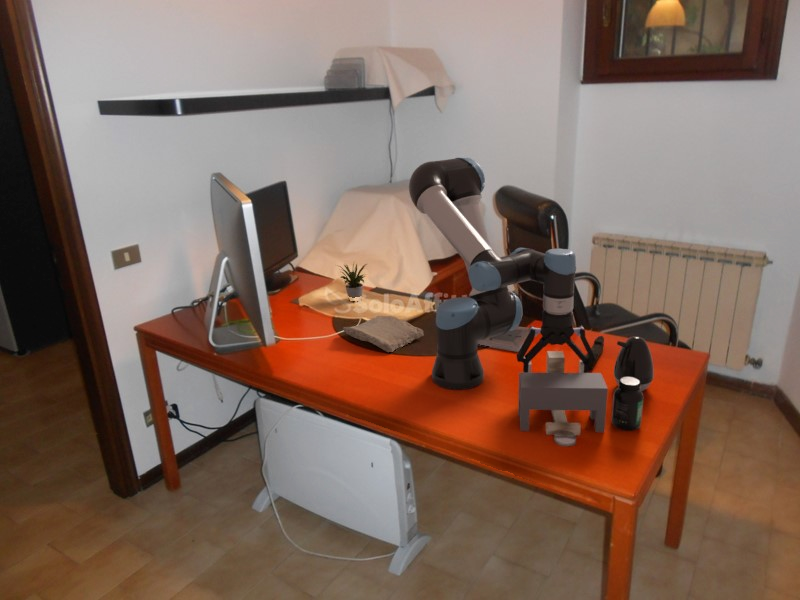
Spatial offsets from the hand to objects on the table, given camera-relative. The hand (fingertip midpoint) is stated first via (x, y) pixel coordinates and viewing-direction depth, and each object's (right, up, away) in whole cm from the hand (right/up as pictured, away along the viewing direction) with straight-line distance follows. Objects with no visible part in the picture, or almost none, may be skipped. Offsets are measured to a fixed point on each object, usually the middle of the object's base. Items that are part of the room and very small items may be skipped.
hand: (554, 384), depth 159 cm
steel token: (-2, -11, -16) cm, 20 cm away
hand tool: (+18, +4, +25) cm, 31 cm away
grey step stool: (-1, -8, -9) cm, 12 cm away
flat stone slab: (-48, +9, +47) cm, 67 cm away
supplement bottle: (+15, -8, -11) cm, 20 cm away
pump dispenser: (+23, -2, +6) cm, 24 cm away
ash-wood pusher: (-1, -7, -5) cm, 9 cm away
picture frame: (-9, +9, +43) cm, 45 cm away
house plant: (-61, +22, +85) cm, 106 cm away
